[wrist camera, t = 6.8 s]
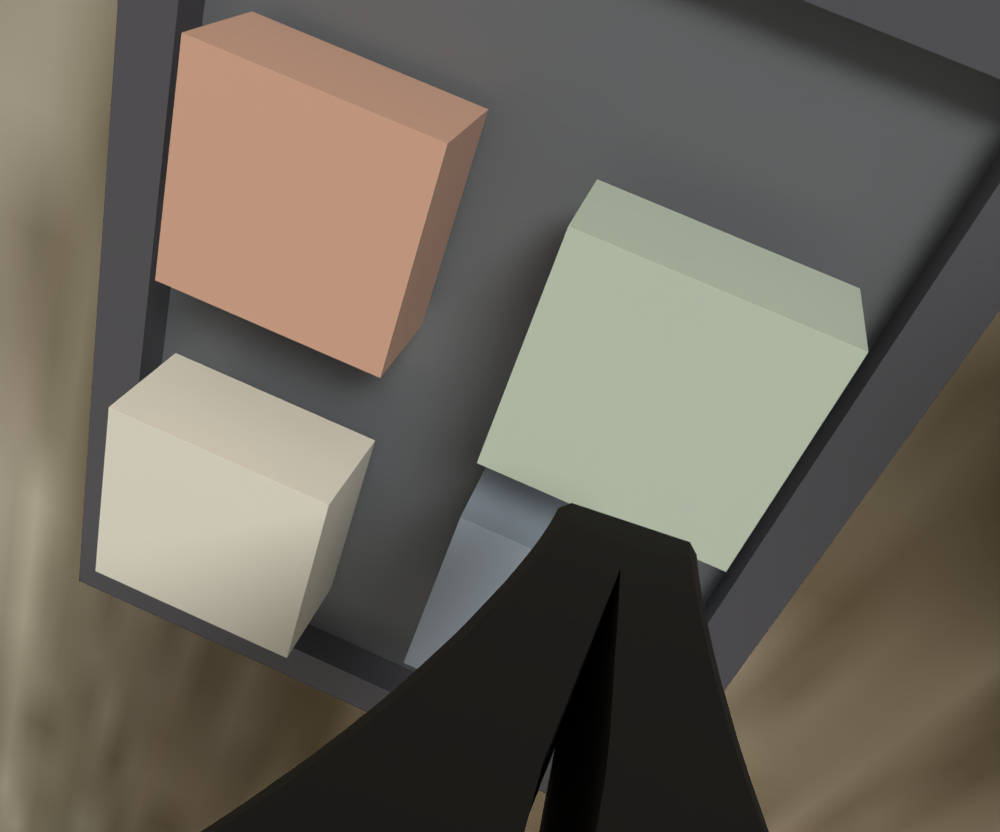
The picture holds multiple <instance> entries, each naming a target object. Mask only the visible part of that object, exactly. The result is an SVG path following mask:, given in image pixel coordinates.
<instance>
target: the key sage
mask: <svg viewBox="0 0 1000 832" xmlns="http://www.w3.org/2000/svg"><path fill="white" fill-rule="evenodd" d="M867 354H868V344H867V337H866V329H865V322H864V314H863V307H862V299H861V292H860V288H858V287H855V286H853V285H850V284H848V283H846V282H843V281H841V280H838V279H836V278H834V277H831V276H829V275H826V274H824V273H822V272H819V271H817V270H814V269H812V268H810V267H807V266H805V265H802V264H800V263H798V262H795V261H793V260H790V259H788V258H785V257H783V256H781V255H778V254H776V253H773V252H771V251H769V250H766V249H764V248H761V247H759V246H757V245H754V244H752V243H749V242H747V241H745V240H742V239H740V238H737V237H735V236H733V235H730V234H728V233H725V232H723V231H721V230H718V229H716V228H713V227H711V226H709V225H706V224H704V223H701V222H699V221H697V220H694V219H692V218H689V217H687V216H685V215H682V214H680V213H677V212H675V211H673V210H670V209H668V208H665V207H663V206H661V205H658V204H656V203H653V202H651V201H649V200H646V199H644V198H641V197H639V196H636V195H634V194H632V193H629V192H627V191H624V190H622V189H620V188H617V187H615V186H612V185H610V184H608V183H605V182H603V181H600V180H598V179H597V180H596V182H595V184H594V185H593V187H592V188H591V190H590V192H589V193H588V195H587V197H586V198H585V200H584V201H583V203H582V205H581V206H580V208H579V210H578V211H577V213H576V214H575V216H574V218H573V219H572V221H571V223H570V224H569V226H568V228H567V231H566V233H565V236H564V239H563V241H562V244H561V246H560V249H559V252H558V254H557V257H556V259H555V262H554V265H553V267H552V270H551V272H550V275H549V277H548V280H547V283H546V285H545V288H544V290H543V293H542V296H541V298H540V301H539V303H538V306H537V309H536V311H535V314H534V316H533V319H532V321H531V324H530V327H529V329H528V332H527V334H526V337H525V340H524V342H523V345H522V347H521V350H520V352H519V355H518V358H517V360H516V363H515V365H514V368H513V371H512V373H511V376H510V378H509V381H508V384H507V386H506V389H505V391H504V394H503V396H502V399H501V402H500V404H499V407H498V409H497V412H496V415H495V417H494V420H493V422H492V425H491V428H490V430H489V433H488V435H487V438H486V440H485V443H484V446H483V448H482V451H481V453H480V456H479V459H478V461H477V463H478V464H480V465H482V466H485V467H487V468H489V469H492V470H494V471H496V472H498V473H501V474H503V475H505V476H508V477H510V478H512V479H514V480H517V481H519V482H521V483H524V484H526V485H528V486H530V487H533V488H535V489H537V490H540V491H542V492H544V493H547V494H549V495H551V496H553V497H556V498H558V499H560V500H563V501H565V502H567V503H569V504H570V503H574V504H577V505H580V506H583V507H586V508H589V509H592V510H595V511H598V512H601V513H604V514H607V515H610V516H613V517H616V518H619V519H622V520H625V521H628V522H631V523H634V524H637V525H640V526H643V527H646V528H649V529H652V530H655V531H658V532H661V533H664V534H667V535H670V536H673V537H676V538H679V539H682V540H685V541H688V542H690V543H691V545H692V547H693V549H694V551H695V552H696V554H697V559H698V560H700V561H702V562H704V563H707V564H709V565H711V566H714V567H716V568H718V569H720V570H723V571H725V572H726V571H727V570H728V568H729V567H730V565H731V564H732V562H733V560H734V559H735V557H736V556H737V554H738V553H739V551H740V550H741V548H742V547H743V545H744V543H745V542H746V540H747V539H748V537H749V536H750V534H751V533H752V531H753V530H754V528H755V526H756V525H757V523H758V522H759V520H760V519H761V517H762V516H763V514H764V513H765V511H766V510H767V508H768V506H769V505H770V503H771V502H772V500H773V499H774V497H775V496H776V494H777V493H778V491H779V489H780V488H781V486H782V485H783V483H784V482H785V480H786V479H787V477H788V476H789V474H790V472H791V471H792V469H793V468H794V466H795V465H796V463H797V462H798V460H799V459H800V457H801V455H802V454H803V452H804V451H805V449H806V448H807V446H808V445H809V443H810V442H811V440H812V439H813V437H814V435H815V434H816V432H817V431H818V429H819V428H820V426H821V425H822V423H823V422H824V420H825V418H826V417H827V415H828V414H829V412H830V411H831V409H832V408H833V406H834V405H835V403H836V401H837V400H838V398H839V397H840V395H841V394H842V392H843V391H844V389H845V388H846V386H847V385H848V383H849V381H850V380H851V378H852V377H853V375H854V374H855V372H856V371H857V369H858V368H859V366H860V364H861V363H862V361H863V360H864V358H865V357H866V355H867Z"/></svg>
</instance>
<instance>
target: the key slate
mask: <svg viewBox="0 0 1000 832" xmlns="http://www.w3.org/2000/svg"><path fill="white" fill-rule="evenodd" d="M567 504H569V503H567V502H565V501H563V500H560V499H558V498H556V497H553V496H551V495H549V494H547V493H544V492H542V491H540V490H537V489H535V488H533V487H530V486H528V485H526V484H524V483H521V482H519V481H517V480H514V479H512V478H510V477H508V476H505V475H503V474H501V473H498V472H496V471H494V470H492V469H489V468H487V467H486V468H485V470H484V472H483V474H482V476H481V478H480V480H479V482H478V484H477V486H476V488H475V490H474V492H473V493H472V495H471V497H470V499H469V501H468V503H467V505H466V507H465V509H464V511H463V513H462V515H461V517H460V520H459V522H458V525H457V527H456V530H455V532H454V535H453V538H452V540H451V543H450V545H449V548H448V550H447V553H446V555H445V558H444V561H443V563H442V566H441V568H440V571H439V573H438V576H437V579H436V581H435V584H434V586H433V589H432V591H431V594H430V596H429V599H428V602H427V604H426V607H425V609H424V612H423V614H422V617H421V619H420V622H419V625H418V627H417V630H416V632H415V635H414V637H413V640H412V643H411V645H410V648H409V650H408V653H407V655H406V658H405V660H404V663H405V664H407V665H410V666H412V667H414V668H416V669H418V668H419V667H420V666H421V665H422V664H423V663H424V662H425V661H426V660H427V659H428V658H429V657H431V656H432V655H433V654H434V653H435V652H436V651H437V650H438V649H439V648H440V647H441V646H443V645H444V644H445V643H446V642H447V641H448V640H449V639H450V638H451V637H452V636H453V635H454V634H455V633H456V632H457V631H458V630H459V629H460V628H461V627H462V626H463V625H464V624H465V623H466V622H467V621H468V620H469V619H470V618H471V617H472V616H473V615H474V614H475V613H476V612H477V611H478V610H479V609H480V608H481V606H482V605H483V604H484V603H485V602H486V601H487V600H488V599H489V598H490V597H491V596H492V595H493V594H494V593H495V592H496V591H497V589H498V588H499V587H500V586H501V585H502V584H503V583H504V582H505V581H506V580H507V579H508V577H509V576H510V575H511V574H512V573H513V571H514V570H515V569H516V568H517V567H518V565H519V564H520V563H521V562H522V561H523V559H524V558H525V557H526V556H527V555H528V553H529V552H530V551H531V549H532V548H533V547H534V546H535V544H536V543H537V541H538V540H539V539H540V537H541V536H542V534H543V533H544V531H545V530H546V528H547V527H548V525H549V524H550V522H551V521H552V519H553V517H554V515H555V513H556V511H557V509H558V508H560V507H562V506H565V505H567Z"/></svg>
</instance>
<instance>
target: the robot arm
mask: <svg viewBox="0 0 1000 832" xmlns="http://www.w3.org/2000/svg"><path fill="white" fill-rule="evenodd" d="M554 749H555V750H554ZM553 752H554V755H553V760H552V766H551V771H550V776H549V782H548V787H547V793H546V798H545V803H544V809H543V814H542V820H541V825H540V831H539V832H769V831H768V828H767V826H766V823H765V820H764V817H763V814H762V811H761V808H760V805H759V803H758V800H757V797H756V794H755V791H754V788H753V785H752V783H751V780H750V777H749V774H748V771H747V768H746V764H745V761H744V758H743V755H742V752H741V749H740V745H739V742H738V739H737V736H736V732H735V729H734V725H733V721H732V718H731V714H730V711H729V707H728V704H727V700H726V697H725V693H724V690H723V686H722V683H721V679H720V675H719V671H718V667H717V663H716V659H715V655H714V651H713V646H712V642H711V637H710V633H709V628H708V624H707V619H706V614H705V609H704V603H703V598H702V592H701V586H700V579H699V572H698V564H697V554H696V552H695V551H694V549H693V547H692V545H691V543H690V542H688V541H685V540H682V539H679V538H676V537H673V536H670V535H667V534H664V533H661V532H658V531H655V530H652V529H649V528H646V527H643V526H640V525H637V524H634V523H631V522H628V521H625V520H622V519H619V518H616V517H613V516H610V515H607V514H604V513H601V512H598V511H595V510H592V509H589V508H586V507H583V506H580V505H577V504H574V503H570V504H567V505H565V506H562V507H560V508H558V509H557V511H556V513H555V515H554V517H553V519H552V521H551V522H550V524H549V525H548V527H547V528H546V530H545V531H544V533H543V534H542V536H541V537H540V539H539V540H538V541H537V543H536V544H535V546H534V547H533V548H532V549H531V551H530V552H529V553H528V555H527V556H526V557H525V558H524V559H523V561H522V562H521V563H520V564H519V565H518V567H517V568H516V569H515V570H514V571H513V573H512V574H511V575H510V576H509V577H508V579H507V580H506V581H505V582H504V583H503V584H502V585H501V586H500V587H499V588H498V589H497V591H496V592H495V593H494V594H493V595H492V596H491V597H490V598H489V599H488V600H487V601H486V602H485V603H484V604H483V605H482V606H481V608H480V609H479V610H478V611H477V612H476V613H475V614H474V615H473V616H472V617H471V618H470V619H469V620H468V621H467V622H466V623H465V624H464V625H463V626H462V627H461V628H460V629H459V630H458V631H457V632H456V633H455V634H454V635H453V636H452V637H451V638H450V639H449V640H448V641H447V642H446V643H445V644H444V645H443V646H441V647H440V648H439V649H438V650H437V651H436V652H435V653H434V654H433V655H432V656H431V657H429V658H428V659H427V660H426V661H425V662H424V663H423V664H422V665H421V666H420V667H419V668H418V669H416V670H415V671H414V672H413V673H412V674H411V675H410V676H409V677H408V678H407V679H406V680H404V681H403V682H402V683H401V684H400V685H399V686H398V687H397V688H395V689H394V690H393V691H392V692H391V693H390V694H388V695H387V696H386V697H385V698H384V699H382V700H381V701H380V702H379V703H378V704H376V705H375V706H374V707H373V708H372V709H370V710H369V711H368V712H367V713H366V714H364V715H363V716H362V717H361V718H359V719H358V720H357V721H356V722H354V723H353V724H352V725H351V726H349V727H348V728H347V729H345V730H344V731H343V732H342V733H340V734H339V735H338V736H336V737H335V738H334V739H332V740H331V741H330V742H329V743H327V744H326V745H325V746H323V747H322V748H321V749H320V750H318V751H317V752H316V753H314V754H313V755H312V756H310V757H309V758H307V759H306V760H305V761H303V762H302V763H300V764H299V765H298V766H296V767H295V768H293V769H292V770H291V771H289V772H288V773H286V774H285V775H283V776H282V777H281V778H279V779H278V780H276V781H275V782H273V783H272V784H271V785H269V786H268V787H266V788H265V789H264V790H262V791H261V792H259V793H258V794H256V795H255V796H254V797H252V798H251V799H249V800H248V801H247V802H245V803H244V804H242V805H241V806H239V807H238V808H236V809H235V810H233V811H232V812H230V813H229V814H227V815H226V816H224V817H223V818H221V819H220V820H218V821H217V822H215V823H214V824H212V825H210V826H209V827H207V828H206V829H204V830H203V831H201V832H524V831H525V827H526V823H527V820H528V816H529V813H530V810H531V808H532V805H533V803H534V800H535V798H536V795H537V793H538V790H539V788H540V785H541V782H542V780H543V777H544V775H545V772H546V770H547V767H548V765H549V762H550V760H551V757H552V754H553Z"/></svg>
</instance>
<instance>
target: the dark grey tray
mask: <svg viewBox="0 0 1000 832" xmlns="http://www.w3.org/2000/svg"><path fill="white" fill-rule="evenodd" d="M252 11H253V12H255V13H257V14H260V15H262V16H265V17H267V18H269V19H272V20H274V21H277V22H279V23H281V24H284V25H286V26H289V27H291V28H294V29H296V30H298V31H301V32H303V33H306V34H308V35H310V36H313V37H315V38H318V39H320V40H323V41H325V42H327V43H330V44H332V45H335V46H337V47H339V48H342V49H344V50H347V51H349V52H351V53H354V54H356V55H359V56H361V57H364V58H366V59H368V60H371V61H373V62H376V63H378V64H380V65H383V66H385V67H388V68H390V69H392V70H395V71H397V72H400V73H402V74H405V75H407V76H409V77H412V78H414V79H417V80H419V81H421V82H424V83H426V84H429V85H431V86H433V87H436V88H438V89H441V90H443V91H446V92H448V93H450V94H453V95H455V96H458V97H460V98H462V99H465V100H467V101H470V102H472V103H474V104H477V105H479V106H482V107H484V108H487V109H488V112H487V116H486V119H485V122H484V125H483V129H482V132H481V135H480V139H479V142H478V145H477V148H476V152H475V155H474V158H473V161H472V165H471V168H470V171H469V174H468V178H467V181H466V184H465V187H464V191H463V194H462V197H461V200H460V204H459V207H458V210H457V213H456V217H455V220H454V223H453V226H452V230H451V233H450V236H449V239H448V243H447V246H446V249H445V252H444V256H443V259H442V262H441V266H440V269H439V272H438V275H437V279H436V282H435V285H434V288H433V292H432V295H431V298H430V301H429V305H428V308H427V311H426V314H425V318H424V321H423V324H422V326H421V327H420V328H419V330H418V331H417V332H416V334H415V335H414V336H413V337H412V339H411V340H410V341H409V342H408V344H407V345H406V346H405V347H404V349H403V350H402V351H401V352H400V354H399V355H398V356H397V357H396V359H395V360H394V361H393V363H392V364H391V365H390V366H389V368H388V369H387V370H386V371H385V373H384V374H383V375H382V376H381V378H379V377H377V376H374V375H372V374H370V373H368V372H365V371H363V370H361V369H358V368H356V367H354V366H351V365H349V364H347V363H345V362H342V361H340V360H338V359H335V358H333V357H331V356H328V355H326V354H324V353H322V352H319V351H317V350H315V349H312V348H310V347H308V346H305V345H303V344H301V343H299V342H296V341H294V340H292V339H289V338H287V337H285V336H282V335H280V334H278V333H275V332H273V331H271V330H269V329H266V328H264V327H262V326H259V325H257V324H255V323H252V322H250V321H248V320H246V319H243V318H241V317H239V316H236V315H234V314H232V313H229V312H227V311H225V310H223V309H220V308H218V307H216V306H213V305H211V304H209V303H206V302H204V301H202V300H200V299H197V298H195V297H193V296H190V295H188V294H186V293H183V292H181V291H179V290H176V289H174V288H172V287H170V286H167V285H165V284H163V283H160V282H158V281H156V280H155V277H156V267H157V258H158V249H159V239H160V230H161V221H162V211H163V202H164V193H165V183H166V174H167V165H168V155H169V146H170V137H171V127H172V118H173V109H174V99H175V90H176V81H177V71H178V62H179V53H180V43H181V34H182V32H185V31H188V30H192V29H195V28H198V27H202V26H205V25H208V24H212V23H215V22H218V21H222V20H225V19H228V18H232V17H235V16H238V15H242V14H245V13H248V12H252ZM597 179H598V180H600V181H603V182H605V183H608V184H610V185H612V186H615V187H617V188H620V189H622V190H624V191H627V192H629V193H632V194H634V195H636V196H639V197H641V198H644V199H646V200H649V201H651V202H653V203H656V204H658V205H661V206H663V207H665V208H668V209H670V210H673V211H675V212H677V213H680V214H682V215H685V216H687V217H689V218H692V219H694V220H697V221H699V222H701V223H704V224H706V225H709V226H711V227H713V228H716V229H718V230H721V231H723V232H725V233H728V234H730V235H733V236H735V237H737V238H740V239H742V240H745V241H747V242H749V243H752V244H754V245H757V246H759V247H761V248H764V249H766V250H769V251H771V252H773V253H776V254H778V255H781V256H783V257H785V258H788V259H790V260H793V261H795V262H798V263H800V264H802V265H805V266H807V267H810V268H812V269H814V270H817V271H819V272H822V273H824V274H826V275H829V276H831V277H834V278H836V279H838V280H841V281H843V282H846V283H848V284H850V285H853V286H855V287H858V288H860V292H861V299H862V307H863V314H864V322H865V329H866V337H867V344H868V354H867V355H866V357H865V358H864V360H863V361H862V363H861V364H860V366H859V368H858V369H857V371H856V372H855V374H854V375H853V377H852V378H851V380H850V381H849V383H848V385H847V386H846V388H845V389H844V391H843V392H842V394H841V395H840V397H839V398H838V400H837V401H836V403H835V405H834V406H833V408H832V409H831V411H830V412H829V414H828V415H827V417H826V418H825V420H824V422H823V423H822V425H821V426H820V428H819V429H818V431H817V432H816V434H815V435H814V437H813V439H812V440H811V442H810V443H809V445H808V446H807V448H806V449H805V451H804V452H803V454H802V455H801V457H800V459H799V460H798V462H797V463H796V465H795V466H794V468H793V469H792V471H791V472H790V474H789V476H788V477H787V479H786V480H785V482H784V483H783V485H782V486H781V488H780V489H779V491H778V493H777V494H776V496H775V497H774V499H773V500H772V502H771V503H770V505H769V506H768V508H767V510H766V511H765V513H764V514H763V516H762V517H761V519H760V520H759V522H758V523H757V525H756V526H755V528H754V530H753V531H752V533H751V534H750V536H749V537H748V539H747V540H746V542H745V543H744V545H743V547H742V548H741V550H740V551H739V553H738V554H737V556H736V557H735V559H734V560H733V562H732V564H731V565H730V567H729V568H728V570H727V571H726V572H725V571H723V570H720V569H718V568H716V567H714V566H711V565H709V564H707V563H704V562H702V561H700V560H698V559H697V564H698V572H699V579H700V586H701V592H702V598H703V603H704V609H705V614H706V619H707V624H708V628H709V633H710V637H711V642H712V646H713V651H714V655H715V659H716V663H717V667H718V671H719V675H720V679H721V683H722V686H723V690H725V689H726V687H727V686H728V685H729V683H730V682H731V680H732V679H733V678H734V676H735V675H736V674H737V672H738V671H739V669H740V668H741V667H742V665H743V664H744V663H745V661H746V660H747V658H748V657H749V656H750V654H751V653H752V651H753V650H754V649H755V647H756V646H757V645H758V643H759V642H760V640H761V639H762V638H763V636H764V635H765V634H766V632H767V631H768V629H769V628H770V627H771V625H772V624H773V622H774V621H775V620H776V618H777V617H778V616H779V614H780V613H781V611H782V610H783V609H784V607H785V606H786V604H787V603H788V602H789V600H790V599H791V598H792V596H793V595H794V593H795V592H796V591H797V589H798V588H799V587H800V585H801V584H802V582H803V581H804V580H805V578H806V577H807V575H808V574H809V573H810V571H811V570H812V569H813V567H814V566H815V564H816V563H817V562H818V560H819V559H820V557H821V556H822V555H823V553H824V552H825V551H826V549H827V548H828V546H829V545H830V544H831V542H832V541H833V540H834V538H835V537H836V535H837V534H838V533H839V531H840V530H841V528H842V527H843V526H844V524H845V523H846V522H847V520H848V519H849V517H850V516H851V515H852V513H853V512H854V510H855V509H856V508H857V506H858V505H859V504H860V502H861V501H862V499H863V498H864V497H865V495H866V494H867V493H868V491H869V490H870V488H871V487H872V486H873V484H874V483H875V481H876V480H877V479H878V477H879V476H880V475H881V473H882V472H883V470H884V469H885V468H886V466H887V465H888V464H889V462H890V461H891V459H892V458H893V457H894V455H895V454H896V452H897V451H898V450H899V448H900V447H901V446H902V444H903V443H904V441H905V440H906V439H907V437H908V436H909V434H910V433H911V432H912V430H913V429H914V428H915V426H916V425H917V423H918V422H919V421H920V419H921V418H922V417H923V415H924V414H925V412H926V411H927V410H928V408H929V407H930V405H931V404H932V403H933V401H934V400H935V399H936V397H937V396H938V394H939V393H940V392H941V390H942V389H943V387H944V386H945V385H946V383H947V382H948V381H949V379H950V378H951V376H952V375H953V374H954V372H955V371H956V370H957V368H958V367H959V365H960V364H961V363H962V361H963V360H964V358H965V357H966V356H967V354H968V353H969V352H970V350H971V349H972V347H973V346H974V345H975V343H976V342H977V340H978V339H979V338H980V336H981V335H982V334H983V332H984V331H985V329H986V328H987V327H988V325H989V324H990V323H991V321H992V320H993V318H994V317H995V316H996V314H997V313H998V311H999V310H1000V0H118V10H117V25H116V40H115V54H114V69H113V84H112V99H111V114H110V128H109V143H108V158H107V173H106V188H105V203H104V217H103V232H102V247H101V262H100V277H99V291H98V306H97V321H96V336H95V351H94V365H93V380H92V395H91V410H90V425H89V440H88V454H87V469H86V484H85V499H84V514H83V528H82V543H81V558H80V573H79V581H81V582H83V583H85V584H88V585H90V586H92V587H94V588H96V589H99V590H101V591H103V592H105V593H107V594H110V595H112V596H114V597H116V598H118V599H121V600H123V601H125V602H127V603H129V604H131V605H134V606H136V607H138V608H140V609H142V610H145V611H147V612H149V613H151V614H153V615H156V616H158V617H160V618H162V619H164V620H167V621H169V622H171V623H173V624H175V625H178V626H180V627H182V628H184V629H186V630H189V631H191V632H193V633H195V634H197V635H200V636H202V637H204V638H206V639H208V640H210V641H213V642H215V643H217V644H219V645H221V646H224V647H226V648H228V649H230V650H232V651H235V652H237V653H239V654H241V655H243V656H246V657H248V658H250V659H252V660H254V661H257V662H259V663H261V664H263V665H265V666H268V667H270V668H272V669H274V670H276V671H278V672H281V673H283V674H285V675H287V676H289V677H292V678H294V679H296V680H298V681H300V682H303V683H305V684H307V685H309V686H311V687H314V688H316V689H318V690H320V691H322V692H325V693H327V694H329V695H331V696H333V697H336V698H338V699H340V700H342V701H344V702H347V703H349V704H351V705H353V706H355V707H357V708H360V709H362V710H364V711H366V712H368V711H369V710H370V709H372V708H373V707H374V706H375V705H376V704H378V703H379V702H380V701H381V700H382V699H384V698H385V697H386V696H387V695H388V694H390V693H391V692H392V691H393V690H394V689H395V688H397V687H398V686H399V685H400V684H401V683H402V682H403V681H404V680H406V679H407V678H408V677H409V676H410V675H411V674H412V673H413V672H414V671H415V670H416V668H414V667H412V666H410V665H407V664H405V663H404V660H405V658H406V655H407V653H408V650H409V648H410V645H411V643H412V640H413V637H414V635H415V632H416V630H417V627H418V625H419V622H420V619H421V617H422V614H423V612H424V609H425V607H426V604H427V602H428V599H429V596H430V594H431V591H432V589H433V586H434V584H435V581H436V579H437V576H438V573H439V571H440V568H441V566H442V563H443V561H444V558H445V555H446V553H447V550H448V548H449V545H450V543H451V540H452V538H453V535H454V532H455V530H456V527H457V525H458V522H459V520H460V517H461V515H462V513H463V511H464V509H465V507H466V505H467V503H468V501H469V499H470V497H471V495H472V493H473V492H474V490H475V488H476V486H477V484H478V482H479V480H480V478H481V476H482V474H483V472H484V470H485V468H486V467H485V466H482V465H480V464H478V463H477V461H478V459H479V456H480V453H481V451H482V448H483V446H484V443H485V440H486V438H487V435H488V433H489V430H490V428H491V425H492V422H493V420H494V417H495V415H496V412H497V409H498V407H499V404H500V402H501V399H502V396H503V394H504V391H505V389H506V386H507V384H508V381H509V378H510V376H511V373H512V371H513V368H514V365H515V363H516V360H517V358H518V355H519V352H520V350H521V347H522V345H523V342H524V340H525V337H526V334H527V332H528V329H529V327H530V324H531V321H532V319H533V316H534V314H535V311H536V309H537V306H538V303H539V301H540V298H541V296H542V293H543V290H544V288H545V285H546V283H547V280H548V277H549V275H550V272H551V270H552V267H553V265H554V262H555V259H556V257H557V254H558V252H559V249H560V246H561V244H562V241H563V239H564V236H565V233H566V231H567V228H568V226H569V224H570V223H571V221H572V219H573V218H574V216H575V214H576V213H577V211H578V210H579V208H580V206H581V205H582V203H583V201H584V200H585V198H586V197H587V195H588V193H589V192H590V190H591V188H592V187H593V185H594V184H595V182H596V180H597ZM175 353H177V354H179V355H181V356H184V357H186V358H188V359H191V360H193V361H195V362H197V363H200V364H202V365H204V366H207V367H209V368H211V369H213V370H216V371H218V372H220V373H222V374H225V375H227V376H229V377H232V378H234V379H236V380H238V381H241V382H243V383H245V384H248V385H250V386H252V387H254V388H257V389H259V390H261V391H264V392H266V393H268V394H270V395H273V396H275V397H277V398H280V399H282V400H284V401H286V402H289V403H291V404H293V405H295V406H298V407H300V408H302V409H305V410H307V411H309V412H311V413H314V414H316V415H318V416H321V417H323V418H325V419H327V420H330V421H332V422H334V423H337V424H339V425H341V426H343V427H346V428H348V429H350V430H352V431H355V432H357V433H359V434H362V435H364V436H366V437H368V438H371V439H373V440H375V443H374V446H373V449H372V453H371V456H370V459H369V463H368V466H367V470H366V473H365V476H364V480H363V483H362V486H361V490H360V493H359V496H358V500H357V503H356V506H355V510H354V513H353V517H352V520H351V523H350V527H349V530H348V533H347V537H346V540H345V543H344V547H343V550H342V553H341V557H340V560H339V564H338V567H337V570H336V574H335V577H334V580H333V584H332V587H331V589H330V591H329V592H328V594H327V595H326V597H325V599H324V600H323V602H322V603H321V605H320V607H319V608H318V610H317V611H316V613H315V614H314V616H313V618H312V619H311V621H310V622H309V624H308V625H307V627H306V629H305V630H304V632H303V633H302V635H301V636H300V638H299V640H298V641H297V643H296V644H295V646H294V648H293V649H292V651H291V652H290V654H289V655H288V657H287V658H285V657H283V656H281V655H279V654H277V653H274V652H272V651H270V650H268V649H266V648H263V647H261V646H259V645H257V644H255V643H252V642H250V641H248V640H246V639H244V638H241V637H239V636H237V635H235V634H233V633H230V632H228V631H226V630H224V629H222V628H220V627H217V626H215V625H213V624H211V623H209V622H206V621H204V620H202V619H200V618H198V617H195V616H193V615H191V614H189V613H187V612H184V611H182V610H180V609H178V608H176V607H173V606H171V605H169V604H167V603H165V602H162V601H160V600H158V599H156V598H154V597H151V596H149V595H147V594H145V593H143V592H140V591H138V590H136V589H134V588H132V587H129V586H127V585H125V584H123V583H121V582H118V581H116V580H114V579H112V578H110V577H107V576H105V575H103V574H101V573H99V572H96V571H95V569H96V557H97V545H98V532H99V520H100V508H101V496H102V483H103V471H104V459H105V447H106V434H107V422H108V410H109V407H110V406H111V405H112V404H113V403H115V402H116V401H117V400H118V399H119V398H121V397H122V396H123V395H124V394H126V393H127V392H128V391H129V390H131V389H132V388H133V387H134V386H136V385H137V384H138V383H139V382H140V381H142V380H143V379H144V378H145V377H147V376H148V375H149V374H150V373H152V372H153V371H154V370H155V369H157V368H158V367H159V366H160V365H161V364H163V363H164V362H165V361H166V360H168V359H169V358H170V357H171V356H173V355H174V354H175ZM554 750H555V749H554ZM553 755H554V752H553V754H552V757H551V760H550V762H549V765H548V767H547V770H546V772H545V775H544V777H543V780H542V782H541V785H540V788H539V790H540V791H542V792H544V793H547V787H548V782H549V776H550V771H551V766H552V760H553Z"/></svg>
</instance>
